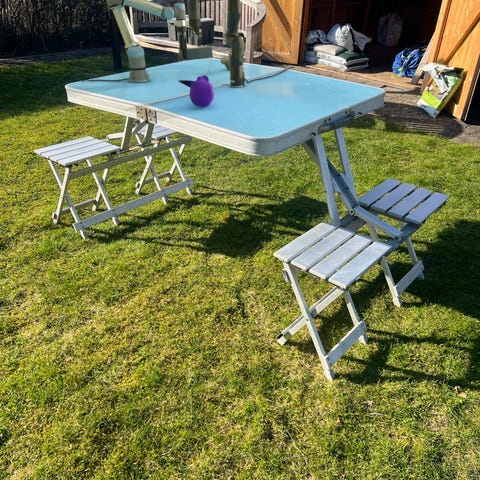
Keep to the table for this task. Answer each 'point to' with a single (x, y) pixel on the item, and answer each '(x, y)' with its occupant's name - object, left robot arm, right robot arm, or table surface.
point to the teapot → (227, 60)
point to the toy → (200, 91)
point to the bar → (197, 53)
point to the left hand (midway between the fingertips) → (184, 58)
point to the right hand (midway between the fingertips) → (196, 45)
